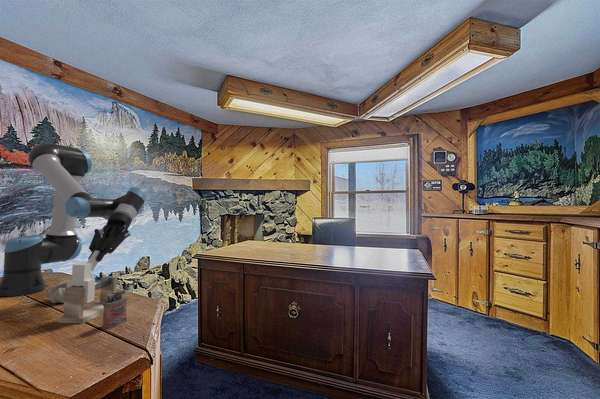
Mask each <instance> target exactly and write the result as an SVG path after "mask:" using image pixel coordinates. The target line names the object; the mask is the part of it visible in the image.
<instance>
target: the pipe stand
mask: <svg viewBox="0 0 600 399" xmlns="http://www.w3.org/2000/svg"><path fill="white" fill-rule="evenodd" d="M98 290H100V292H99V295H100V296H99V297H100V298H99V300H97V301H95V302H92V303H89V304H88V305H85V306H84V304H85V303H84V287H83V286H79V287H68V288H65V297H64V303H63V315H61V316H58V317H57V323H61V324H64V323H65V324H84V323H87V322H89V321H91V320H92V319H95V318H97V317H98V316H99V317H100V316H101V315H103V312H104V306H103V303H104V302H106V301H108V299H107V296H108V295H109V294H111V293H112V292H118V291H117V290H118V276H106V275H104V276H102V277H101V276H100V279H98V280H95V291H98Z"/></svg>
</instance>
